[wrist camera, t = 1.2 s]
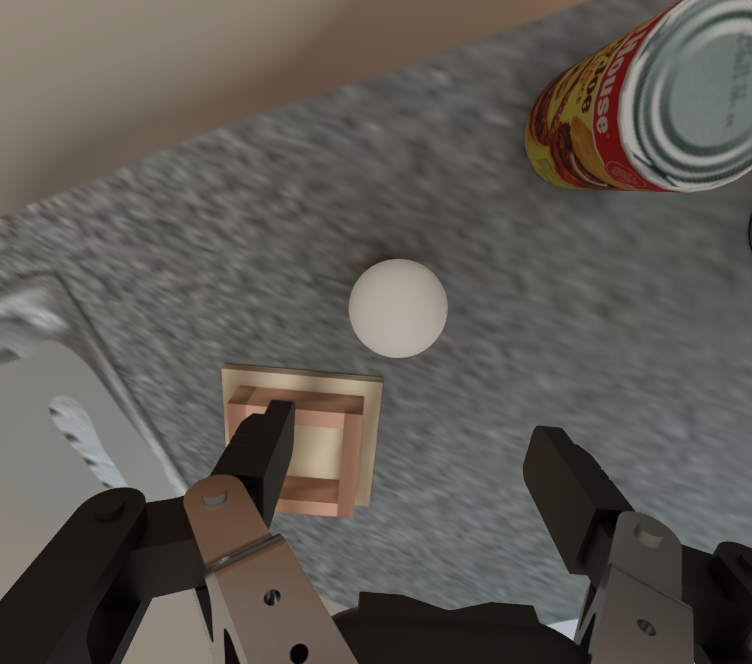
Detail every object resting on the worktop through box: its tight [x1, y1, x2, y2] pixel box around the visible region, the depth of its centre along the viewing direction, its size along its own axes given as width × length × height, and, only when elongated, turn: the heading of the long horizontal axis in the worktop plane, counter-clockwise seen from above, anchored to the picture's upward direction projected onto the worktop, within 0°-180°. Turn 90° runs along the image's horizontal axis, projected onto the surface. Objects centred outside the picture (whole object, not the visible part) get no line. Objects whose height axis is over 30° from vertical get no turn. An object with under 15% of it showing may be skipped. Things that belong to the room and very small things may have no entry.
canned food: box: [525, 0, 752, 192], centre depth 22 cm, size 8×8×12 cm
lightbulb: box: [349, 259, 448, 358], centre depth 26 cm, size 6×6×11 cm
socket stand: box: [222, 364, 383, 518], centre depth 35 cm, size 14×14×4 cm
